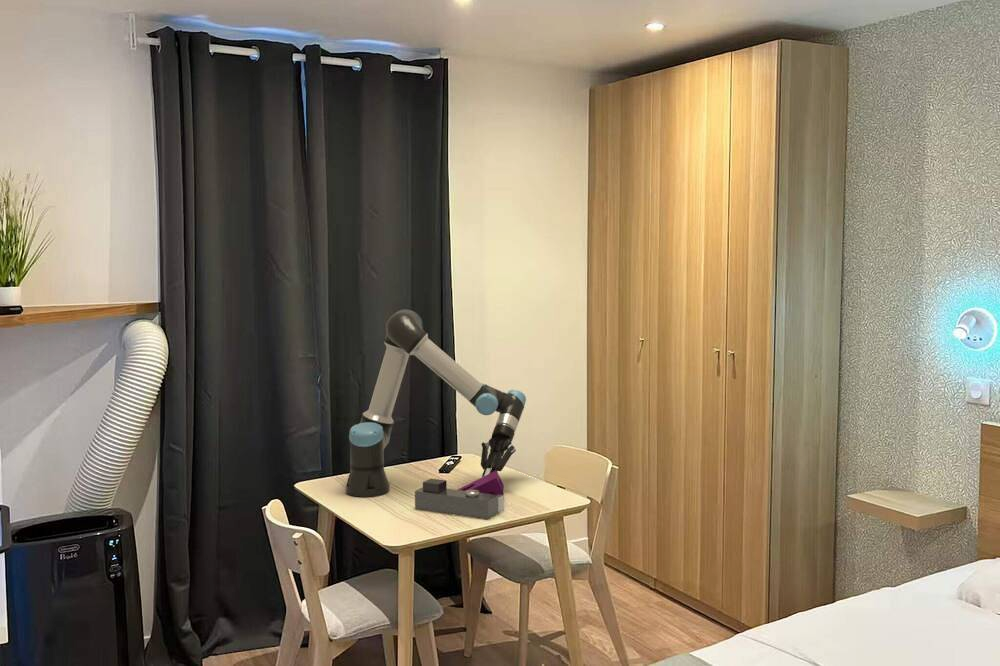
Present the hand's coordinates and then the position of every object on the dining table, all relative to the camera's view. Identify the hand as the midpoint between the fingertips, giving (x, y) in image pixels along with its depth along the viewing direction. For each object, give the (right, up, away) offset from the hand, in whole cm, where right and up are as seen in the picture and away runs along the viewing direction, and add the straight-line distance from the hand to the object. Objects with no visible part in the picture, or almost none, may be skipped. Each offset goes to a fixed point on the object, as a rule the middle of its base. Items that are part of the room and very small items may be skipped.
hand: (484, 486), depth 300 cm
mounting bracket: (-3, -5, -6) cm, 8 cm away
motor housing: (-8, -5, -14) cm, 17 cm away
